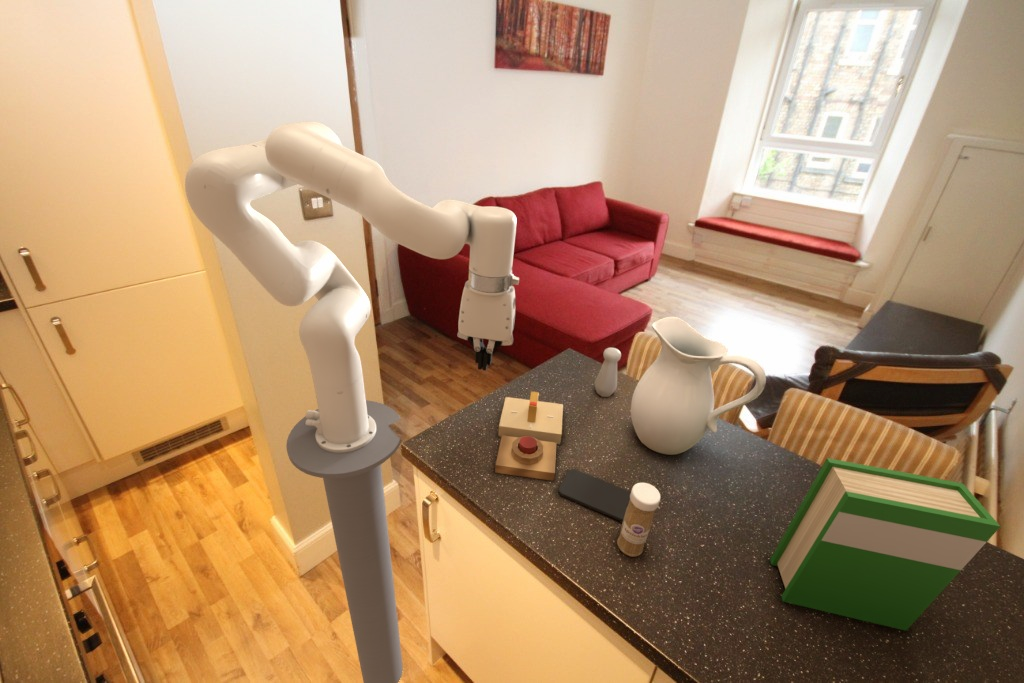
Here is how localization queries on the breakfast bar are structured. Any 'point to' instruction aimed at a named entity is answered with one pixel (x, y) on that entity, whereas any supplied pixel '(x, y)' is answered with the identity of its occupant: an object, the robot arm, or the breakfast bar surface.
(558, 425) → the dial plate
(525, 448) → the bell button
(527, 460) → the wooden button base
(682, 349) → the pitcher
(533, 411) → the red-tipped yellow block
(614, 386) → the salt shaker
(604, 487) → the phone
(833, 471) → the hardback book
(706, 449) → the breakfast bar surface
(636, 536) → the sprinkles bottle
